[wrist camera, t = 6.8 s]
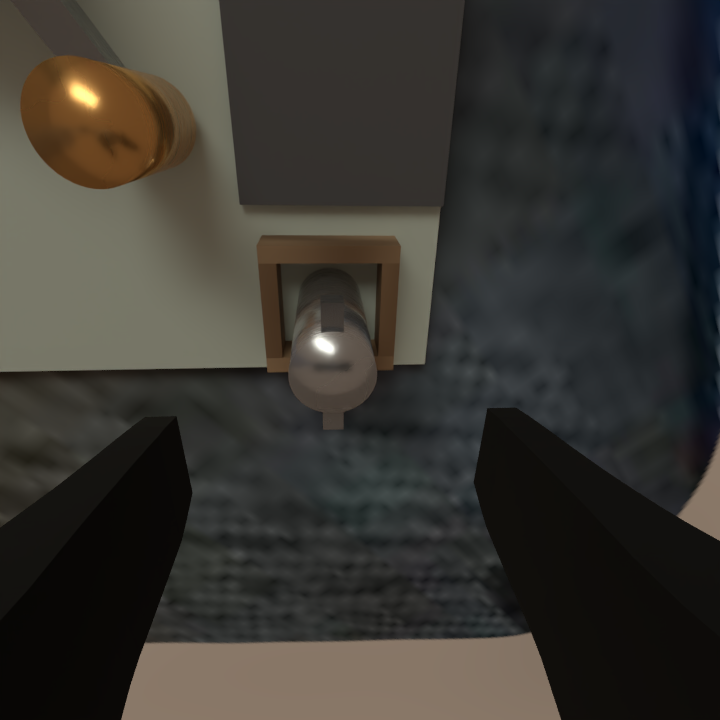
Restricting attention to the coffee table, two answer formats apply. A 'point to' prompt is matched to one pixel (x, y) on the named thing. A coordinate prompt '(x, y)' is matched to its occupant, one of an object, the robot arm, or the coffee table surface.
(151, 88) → the lever
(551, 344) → the coffee table surface
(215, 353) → the board
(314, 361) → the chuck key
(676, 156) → the coffee table surface
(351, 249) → the frame
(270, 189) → the rubber pad
